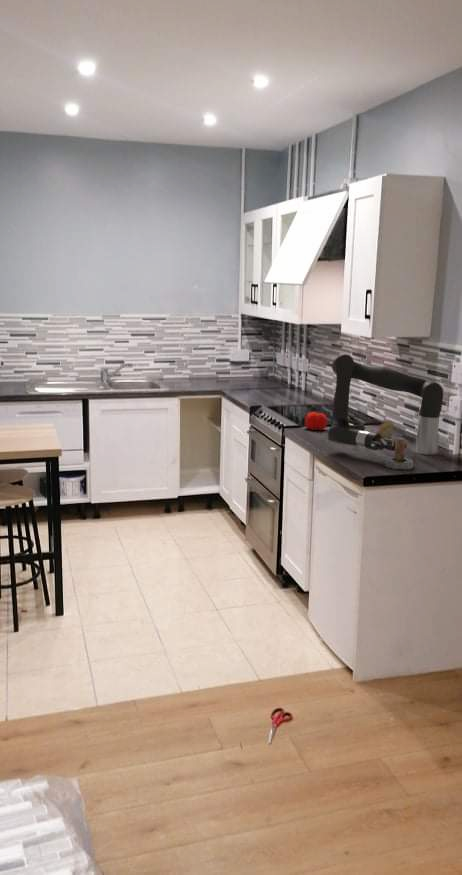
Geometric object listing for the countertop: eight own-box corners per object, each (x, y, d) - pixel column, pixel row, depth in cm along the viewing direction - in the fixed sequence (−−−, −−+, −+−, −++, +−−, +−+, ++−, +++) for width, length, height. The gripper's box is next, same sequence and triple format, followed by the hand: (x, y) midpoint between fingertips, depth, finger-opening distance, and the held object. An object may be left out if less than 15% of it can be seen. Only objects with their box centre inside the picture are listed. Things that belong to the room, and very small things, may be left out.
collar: (406, 463, 323) (407, 457, 322) (415, 470, 312) (416, 463, 312) (382, 463, 322) (382, 456, 321) (390, 469, 311) (390, 462, 311)
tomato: (328, 431, 387) (329, 414, 385) (305, 431, 387) (306, 413, 385) (325, 428, 397) (326, 411, 395) (303, 427, 397) (304, 410, 395)
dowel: (401, 465, 319) (403, 438, 317) (404, 467, 315) (407, 439, 313) (392, 465, 319) (394, 437, 317) (395, 467, 315) (397, 439, 313)
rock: (376, 437, 365) (396, 435, 366) (372, 422, 369) (392, 420, 369) (372, 446, 375) (391, 444, 376) (368, 431, 379) (388, 429, 379)
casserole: (376, 444, 362) (377, 427, 360) (341, 445, 356) (342, 427, 355) (352, 433, 385) (353, 417, 384) (319, 434, 379) (320, 418, 378)
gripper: (359, 433, 321) (391, 440, 310) (379, 430, 331) (410, 436, 320) (358, 450, 323) (390, 458, 311) (377, 446, 332) (409, 453, 321)
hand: (400, 447), depth 315 cm, fingers open, 8 cm apart
